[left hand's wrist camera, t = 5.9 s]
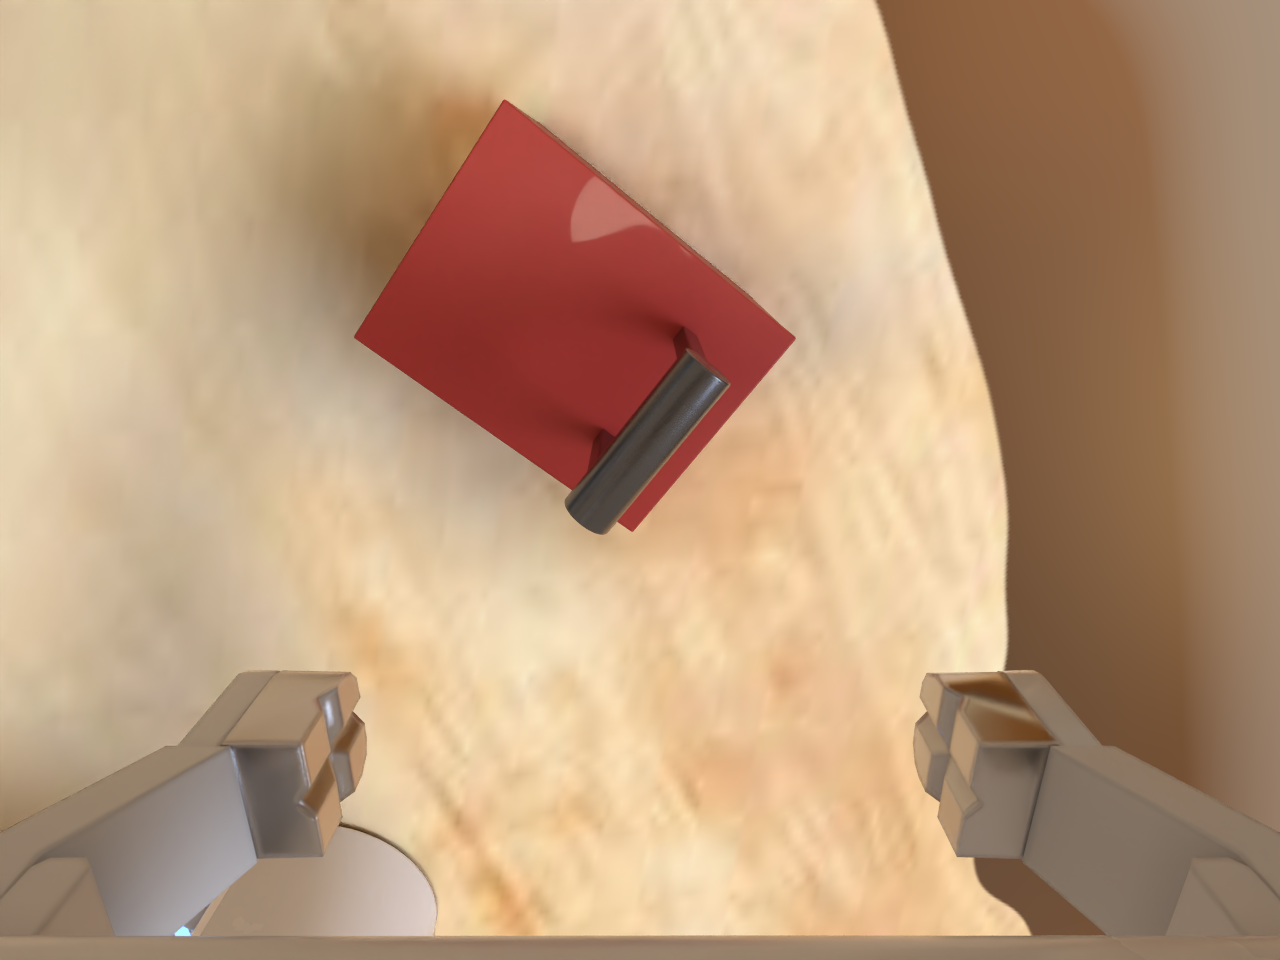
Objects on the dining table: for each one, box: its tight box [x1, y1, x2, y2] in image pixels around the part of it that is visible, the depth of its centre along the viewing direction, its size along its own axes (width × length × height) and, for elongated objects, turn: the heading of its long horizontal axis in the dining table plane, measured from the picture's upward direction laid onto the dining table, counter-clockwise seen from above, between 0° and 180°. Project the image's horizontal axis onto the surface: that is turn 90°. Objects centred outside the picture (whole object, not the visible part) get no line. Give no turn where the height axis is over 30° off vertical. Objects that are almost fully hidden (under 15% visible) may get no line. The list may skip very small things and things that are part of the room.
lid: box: [354, 100, 796, 535], centre depth 25 cm, size 13×10×8 cm
